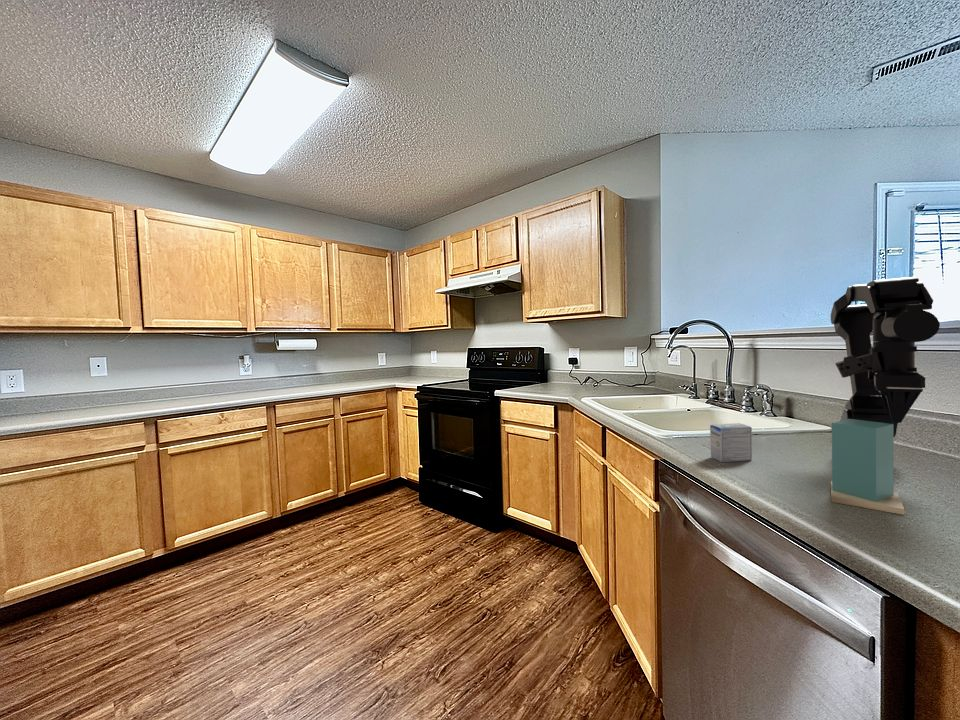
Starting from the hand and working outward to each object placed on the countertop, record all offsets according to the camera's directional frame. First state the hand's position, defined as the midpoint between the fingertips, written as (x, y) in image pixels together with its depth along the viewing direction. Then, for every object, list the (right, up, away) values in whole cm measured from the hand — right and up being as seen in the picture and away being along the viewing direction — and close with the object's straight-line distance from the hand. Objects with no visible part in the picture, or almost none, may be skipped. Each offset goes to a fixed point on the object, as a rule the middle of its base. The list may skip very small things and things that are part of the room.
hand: (893, 418), depth 77 cm
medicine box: (-20, -14, +19) cm, 31 cm away
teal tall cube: (-12, -13, -6) cm, 19 cm away
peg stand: (-12, -14, -6) cm, 20 cm away
